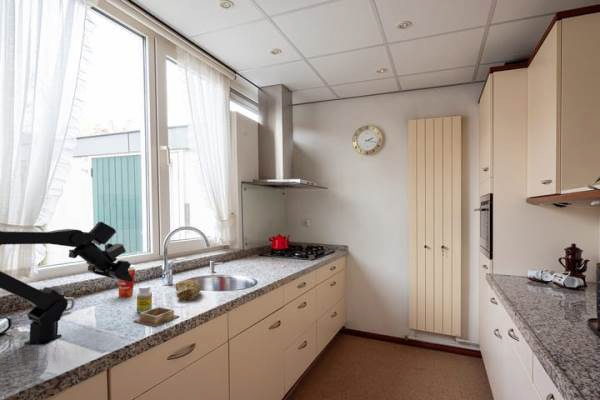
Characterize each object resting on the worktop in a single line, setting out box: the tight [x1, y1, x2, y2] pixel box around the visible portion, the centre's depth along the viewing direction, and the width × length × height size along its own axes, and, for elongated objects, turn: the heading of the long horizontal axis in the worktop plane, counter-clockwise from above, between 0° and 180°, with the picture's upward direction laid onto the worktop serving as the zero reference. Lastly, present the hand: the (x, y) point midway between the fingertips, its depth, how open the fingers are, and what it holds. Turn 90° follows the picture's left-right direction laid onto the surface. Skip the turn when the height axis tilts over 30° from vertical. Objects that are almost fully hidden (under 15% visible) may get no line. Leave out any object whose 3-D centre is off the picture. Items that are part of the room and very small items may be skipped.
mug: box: [61, 295, 75, 317], centre depth 115 cm, size 10×7×7 cm
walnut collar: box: [133, 306, 180, 328], centre depth 112 cm, size 11×11×3 cm
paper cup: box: [117, 264, 137, 298], centre depth 141 cm, size 8×8×14 cm
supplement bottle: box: [136, 285, 153, 314], centre depth 121 cm, size 5×5×10 cm
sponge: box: [175, 279, 202, 301], centre depth 144 cm, size 13×8×20 cm
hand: (124, 279), depth 115 cm, fingers open, 9 cm apart
